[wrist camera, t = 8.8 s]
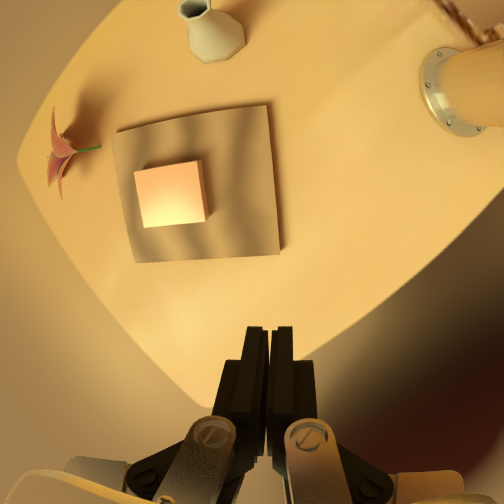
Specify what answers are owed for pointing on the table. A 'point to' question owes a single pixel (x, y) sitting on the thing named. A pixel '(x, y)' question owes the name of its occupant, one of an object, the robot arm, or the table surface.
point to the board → (216, 185)
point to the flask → (211, 31)
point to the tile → (172, 194)
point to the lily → (59, 155)
